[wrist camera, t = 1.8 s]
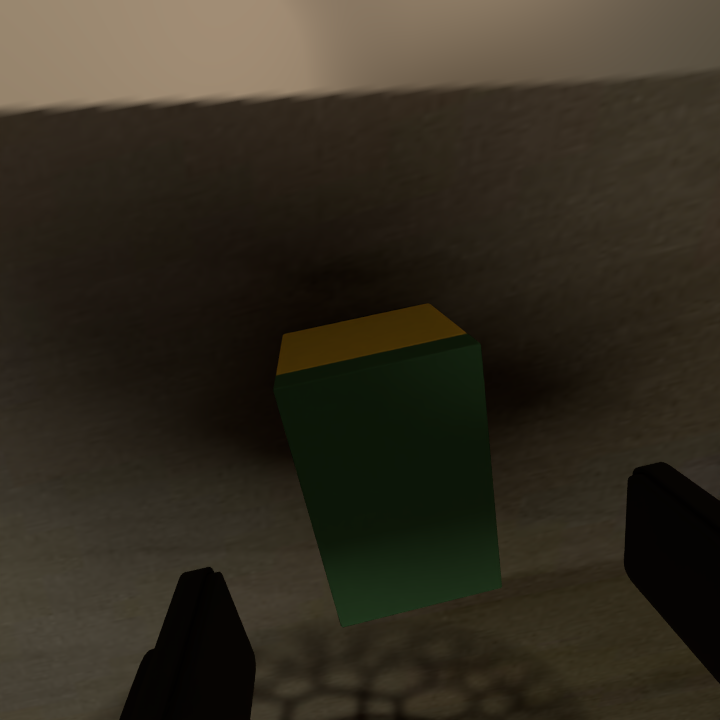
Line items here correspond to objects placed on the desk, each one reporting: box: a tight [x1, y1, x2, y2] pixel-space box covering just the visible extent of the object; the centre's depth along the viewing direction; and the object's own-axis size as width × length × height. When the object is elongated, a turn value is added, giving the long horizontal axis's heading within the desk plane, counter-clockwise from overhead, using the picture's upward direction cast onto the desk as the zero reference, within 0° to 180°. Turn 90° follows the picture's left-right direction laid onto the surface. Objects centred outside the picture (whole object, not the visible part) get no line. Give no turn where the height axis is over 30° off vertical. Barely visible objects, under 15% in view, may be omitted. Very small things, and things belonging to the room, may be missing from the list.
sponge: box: [273, 303, 502, 627], centre depth 13 cm, size 8×5×4 cm, turn 11°
